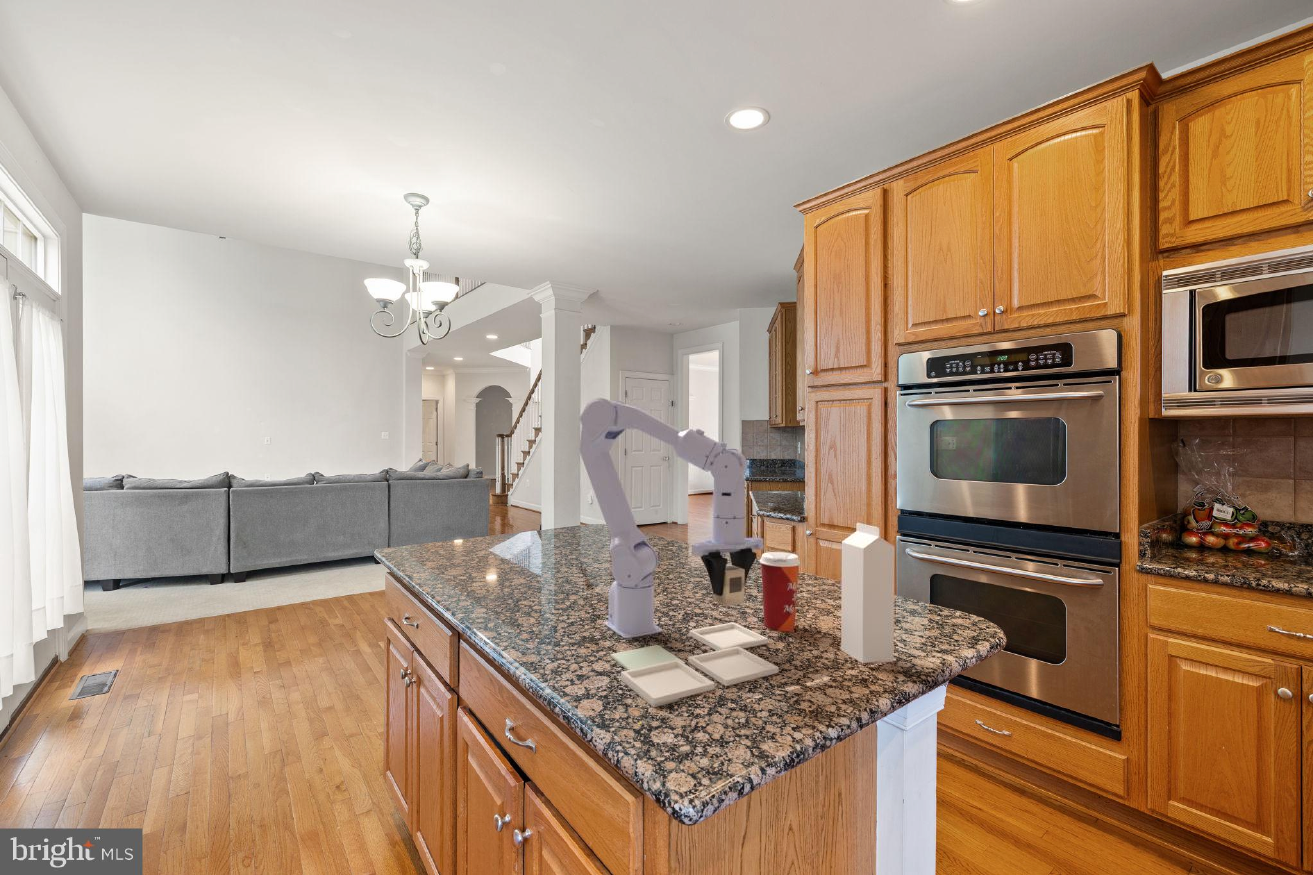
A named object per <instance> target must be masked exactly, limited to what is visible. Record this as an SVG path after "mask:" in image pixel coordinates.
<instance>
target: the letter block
mask: <svg viewBox="0 0 1313 875" xmlns="http://www.w3.org/2000/svg"><path fill="white" fill-rule="evenodd" d="M744 585H746V583H745V569H742V568H739V567H736V566H733V565H732V564H726V568H725V573H724V589H723V595H722V596H718V595H716V594H713V593H712V601H714V602H715V603H717V604H720V605H722V606H725V607H730V606H736V605H741V604H745V587H744Z"/></svg>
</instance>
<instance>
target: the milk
mask: <svg viewBox="0 0 1313 875" xmlns="http://www.w3.org/2000/svg"><path fill="white" fill-rule="evenodd" d="M855 527H856V531H855V532H853V533H852V534H850V535H849V536H848V537H846V538H845V539H843V540H842V541H841V608H840V612H841V613H840V614H841V616H840V617H841V618H840V619H841V621H840V622H841V624H840V625H841V628H840V630H841V634H840V635H841V636H840V640H841V642H840V651H842V652H844V653H845V654H847V655H849V656H850V657H852V658H853V659H855V660H857V661H858V662H860V663H861V664H867V663H870V664H871V665H877V664H885V663H893V662H894V658H895V655H894V652H895V651H894V650H895V646H894V645H895V638H894V637H895V546H894V545H893V544H891V543H889V542H888V541H886V539H883V538H882V537H881V536H880V533H881V532H880V531H881V530H880V527H878V526H875V525H868V524H865V523H861V522H856V526H855Z"/></svg>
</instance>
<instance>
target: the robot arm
mask: <svg viewBox="0 0 1313 875" xmlns="http://www.w3.org/2000/svg"><path fill="white" fill-rule="evenodd" d="M579 421H580V423H581V431H580V432H581V433H580V443H579V453H580V454H579V455H580V456H581V459H582V462H583V466H584V468H585V470H586V473H587V476H588V479H589V481H590V484H591V487H592V489H593V492H594V494H595V498H596V499H597V503H598V505H599V506H598V507H599V508H600V511H601V513H602V517H603V519H604V522H605V525H606V528H607V530H608V533H609V535H610V545H609V549H608V550H609V551H608V552H609V553H610V554H609V555H610V557H611V568H610V569H611V575H612V576H613V579H614V581H613V583H612V584H611V585H610V587H609V590H608V620H607V621H604V622H603V624H604V625H605V626H606V627H608V628H609V629H610V630H612V631H613V632H615V633H616V634H618V635H619V636H621V637H622V638H624V639H630V638H635V637H641V636H648V635H652V634H658V633H661V632H662V633H663V632H664V630H663V628H660V627H659V626H658V625H656V624H655V579H654V577H653V573H654V572H655V571H656V569H657V567H658V564H659V557H658V553H657V552H656V550H655V549H654V547H653V546H652V545H651V544H650V543H649V542H648V540H647V537H646V535H645V534H644V532H642V531H641V530H640V529H639V528H638V526H637V523H636V520H635V518H634V516H633V512H632V509H631V507H630V504H629V502H628V498H627V496H626V494H625V491H624V488H623V485H622V483H621V481H620V478H619V475H618V473H617V469H616V467H615V463H614V462H613V459H612V455H611V453H610V451H611V450H612V447H613V445H614V444H615V442H616V440H617V439H618V438H619V437H620V436H621V435H622V434H623V433H624V432H625V431H626V430H639V431H640V432H642V433H644V434H647V435H649V436H651V437H652V438H654V439H657V440H659V441H661V442H663V443H666V444H667V445H670V446H671V447H673V449H674V452H675V455H676V457H678V458H680V459H681V460H683V461H685V462H687V463H689V464H691V465H693V466H694V467H697V468H699V469H700V470H703V471H705V472H707V473H708V472H710V474H711V477H712V478H713V490H712V539H710V540H705V541H701V542H696V543H691V556H695V557H700V560H701V561H702V564H703V565H704V567H705V569H706V572H707V575H708V579H709V582H710V585H711V590H712V595H713V594H716V595H718V596H722V595H723V589H724V573H725V568H726V565H728V561H729V559H728V558H727V557H724V556H723V554H725V553H729V556H730V562H731V565H733V566H736V567H739V568H742V569H745V585H746V582H747V579H748V576H749V573H750V571H751V568H752V567H753V564H754V562H755V561H756V560H757V552H754V551H753V550H757V551H759V550H760V551H761V550H762V551H763V550H764V538H760V537H746V536H745V535H746V532H745V531H746V530H745V529H746V528H745V527H746V491H745V487H746V482H745V477H744V476H745V475H746V473H747V471H748V461H747V458H746V457H745V455H744V454H743V453H742V452H740V451H739V450H738V449H737V448H727V447H728V443H726V442H725V441H721V443H720V442H719V441H716V440H714V439H712V438H711V437H708V436H706V435H705V431H704V430H702V429H701V428H696V430H695V429H693V428H689V429H685V430H679V429H678V428H676V427H674V426H672V425H670V424H669V423H667V422H665V421H663V420H662V419H660V418H658V417H656V416H655V415H652V414H651V413H649V412H647V411H645V410H643V409H641V408H639V407H637V406H634V405H630V404H626V403H625V402H623V401H620V400H609V399H606V398H603V397H597V398H593V399H592V400H590V401H589V402H588V403H587V404H586V406H585V407H584V409H583V411H582V413H581V415H580V416H579ZM745 585H744V588H745Z"/></svg>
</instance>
